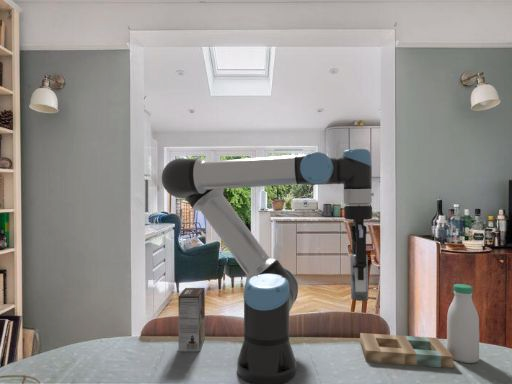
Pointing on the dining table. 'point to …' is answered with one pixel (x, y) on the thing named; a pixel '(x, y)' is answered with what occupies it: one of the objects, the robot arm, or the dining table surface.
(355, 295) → the bushing
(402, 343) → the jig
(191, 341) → the coffee box
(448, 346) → the milk bottle
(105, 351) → the dining table surface
